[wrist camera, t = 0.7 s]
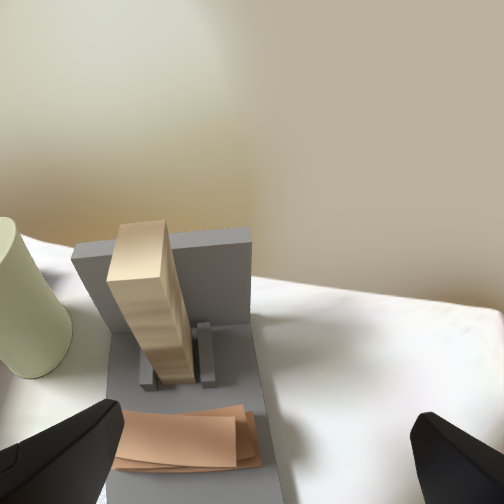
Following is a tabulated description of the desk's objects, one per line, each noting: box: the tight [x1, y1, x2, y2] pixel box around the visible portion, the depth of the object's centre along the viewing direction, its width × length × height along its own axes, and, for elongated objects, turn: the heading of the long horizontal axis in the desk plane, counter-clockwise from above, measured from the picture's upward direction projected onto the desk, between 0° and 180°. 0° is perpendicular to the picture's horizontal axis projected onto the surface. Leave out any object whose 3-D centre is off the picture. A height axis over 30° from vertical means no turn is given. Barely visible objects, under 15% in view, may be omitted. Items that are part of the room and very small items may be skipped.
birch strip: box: [106, 220, 196, 385], centre depth 18 cm, size 4×2×12 cm, turn 9°
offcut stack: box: [111, 404, 262, 473], centre depth 16 cm, size 4×10×4 cm, turn 99°
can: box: [0, 217, 73, 379], centre depth 19 cm, size 9×9×12 cm
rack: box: [71, 227, 284, 504], centre depth 16 cm, size 18×12×10 cm
